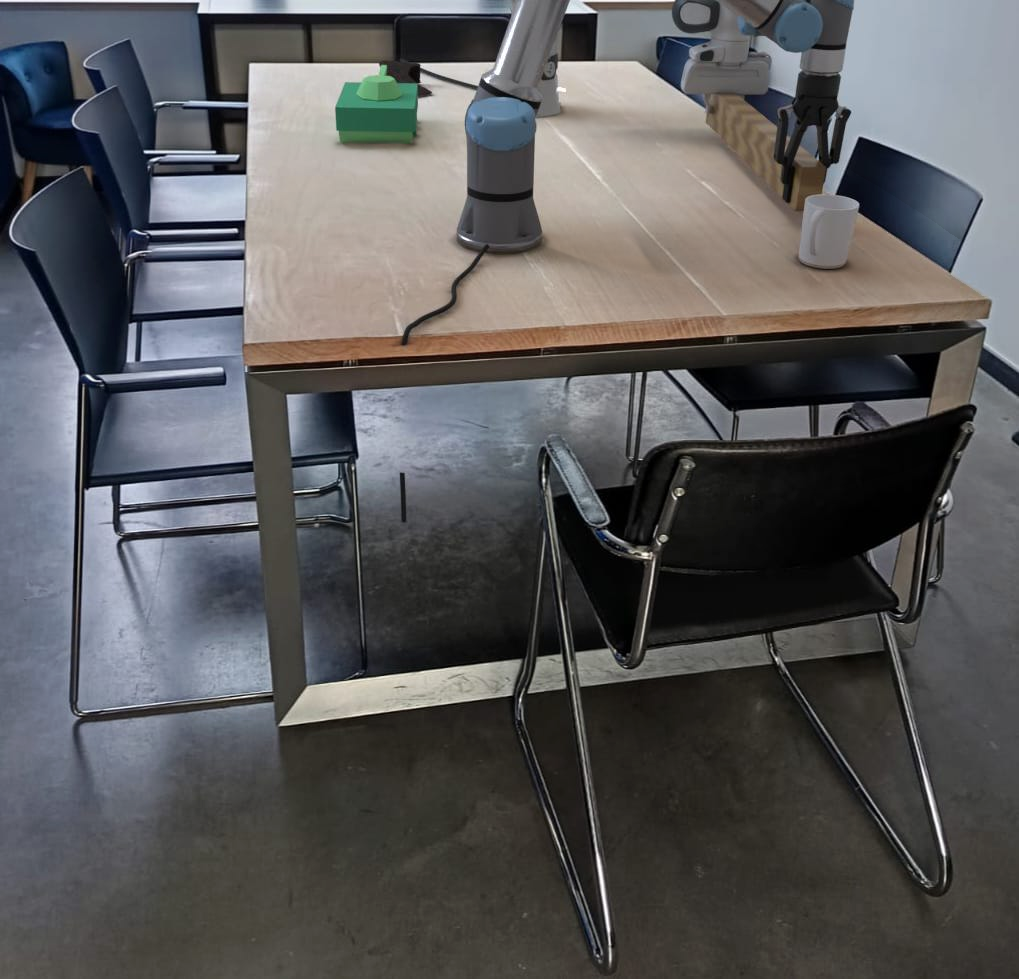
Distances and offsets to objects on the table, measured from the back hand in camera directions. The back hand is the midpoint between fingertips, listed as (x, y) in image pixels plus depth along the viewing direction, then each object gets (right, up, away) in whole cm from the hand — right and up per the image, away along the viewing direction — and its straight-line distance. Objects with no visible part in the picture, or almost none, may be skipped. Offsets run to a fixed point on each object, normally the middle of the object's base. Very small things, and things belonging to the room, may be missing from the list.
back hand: (721, 113), depth 258 cm
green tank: (-81, -2, +6) cm, 81 cm away
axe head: (-79, +21, +42) cm, 92 cm away
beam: (+3, -18, -24) cm, 30 cm away
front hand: (+5, -34, -50) cm, 60 cm away
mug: (+4, -50, -69) cm, 85 cm away
